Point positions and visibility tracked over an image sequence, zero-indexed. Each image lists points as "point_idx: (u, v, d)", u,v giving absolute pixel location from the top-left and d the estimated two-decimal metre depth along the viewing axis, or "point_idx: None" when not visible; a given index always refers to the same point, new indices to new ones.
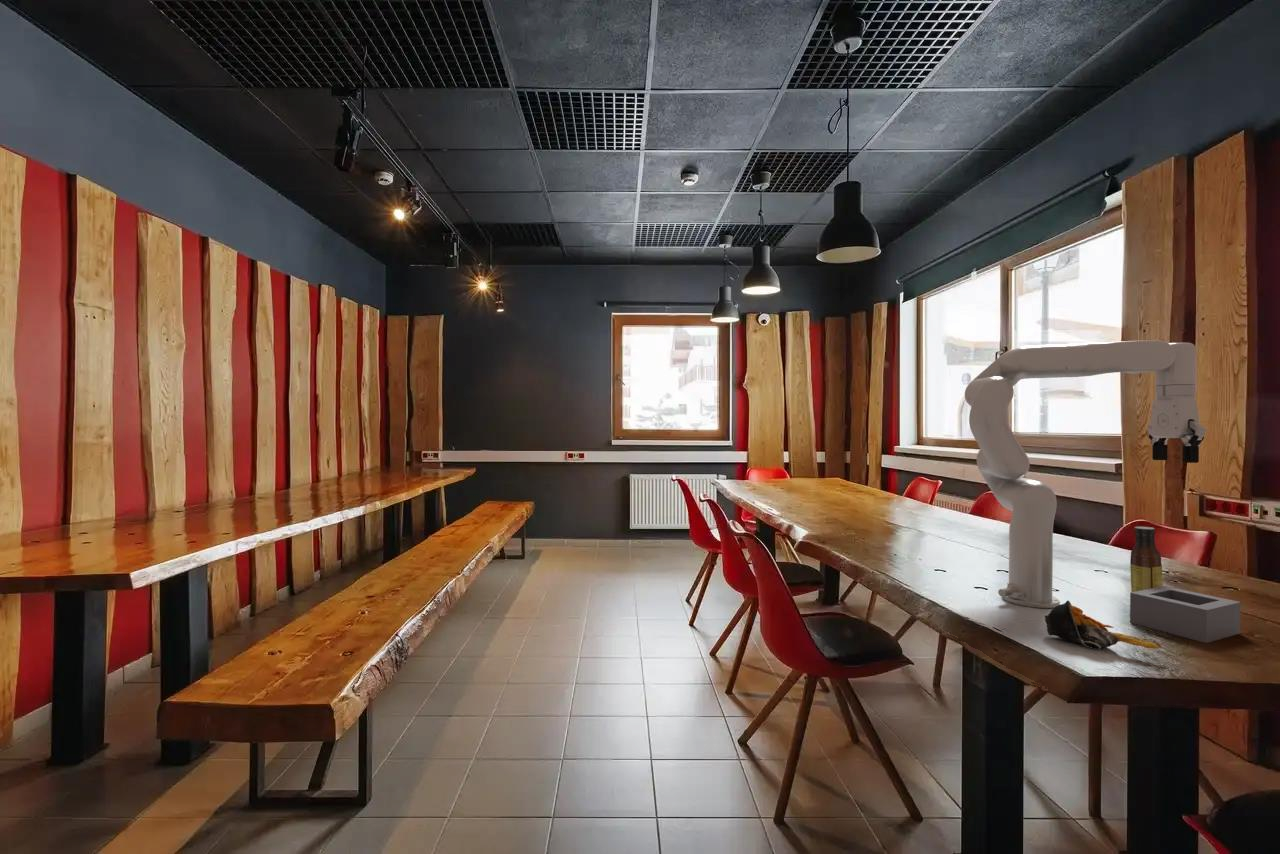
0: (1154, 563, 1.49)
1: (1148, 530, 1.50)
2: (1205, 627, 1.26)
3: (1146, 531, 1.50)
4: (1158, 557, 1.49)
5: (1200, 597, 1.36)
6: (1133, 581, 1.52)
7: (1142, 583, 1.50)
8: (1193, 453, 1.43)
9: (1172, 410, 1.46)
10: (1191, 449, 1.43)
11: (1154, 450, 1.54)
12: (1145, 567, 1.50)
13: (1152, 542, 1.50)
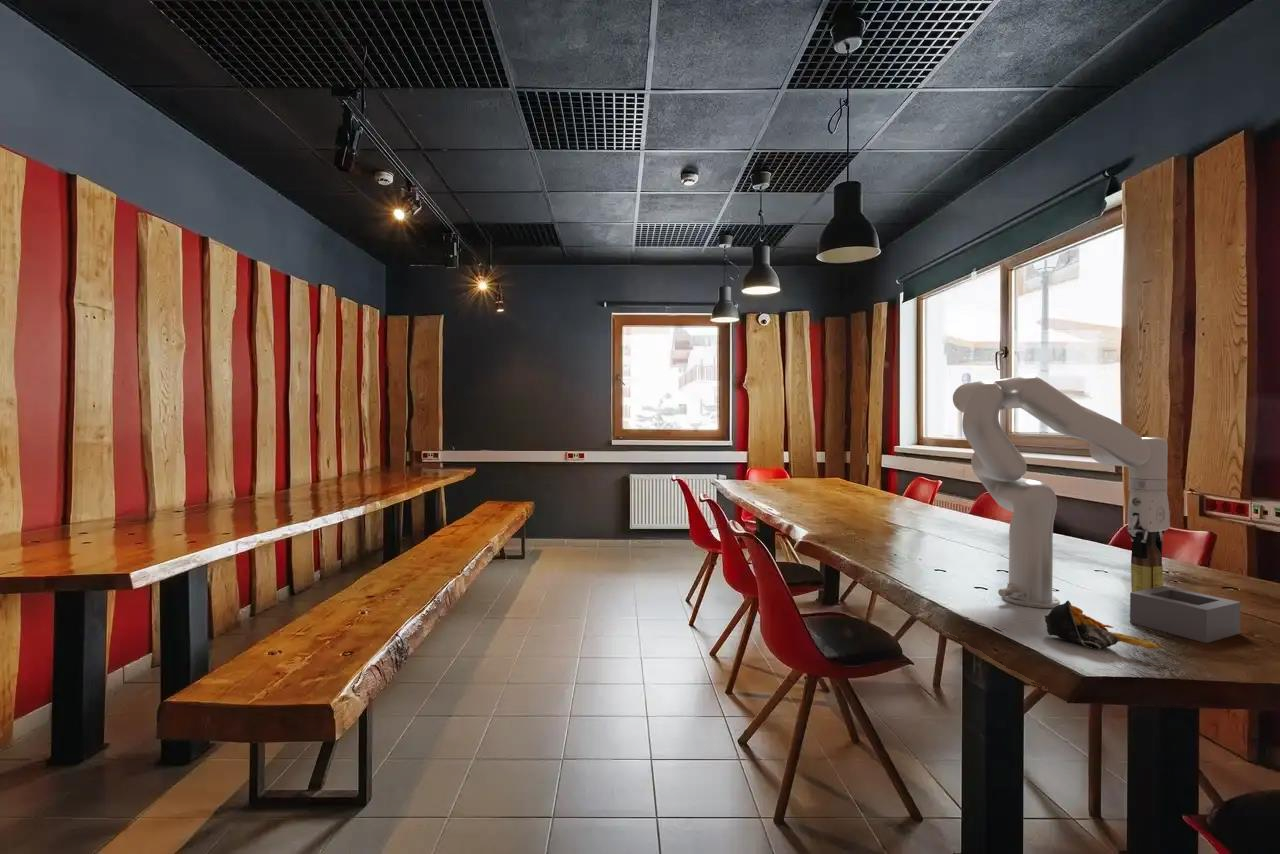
0: (1155, 563, 1.49)
1: None
2: (1205, 627, 1.26)
3: None
4: (1159, 557, 1.49)
5: (1200, 597, 1.36)
6: (1133, 581, 1.52)
7: (1142, 582, 1.50)
8: None
9: (1166, 503, 1.50)
10: None
11: None
12: (1146, 566, 1.50)
13: (1153, 542, 1.50)
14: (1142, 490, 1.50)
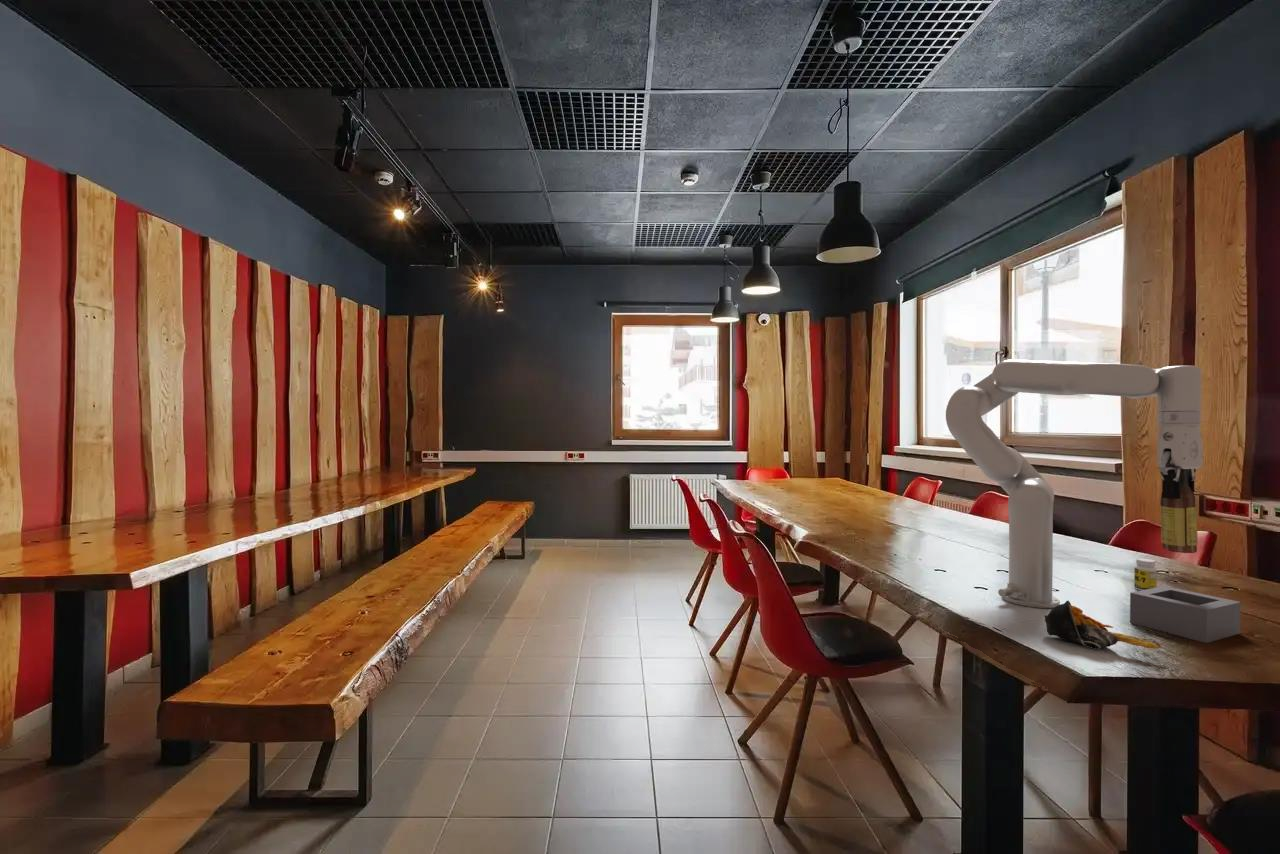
0: (1188, 503, 1.35)
1: None
2: (1205, 627, 1.26)
3: None
4: (1192, 497, 1.35)
5: (1200, 597, 1.36)
6: (1164, 525, 1.38)
7: (1174, 526, 1.36)
8: None
9: (1199, 438, 1.37)
10: None
11: None
12: (1179, 508, 1.36)
13: (1186, 481, 1.36)
14: (1174, 423, 1.36)
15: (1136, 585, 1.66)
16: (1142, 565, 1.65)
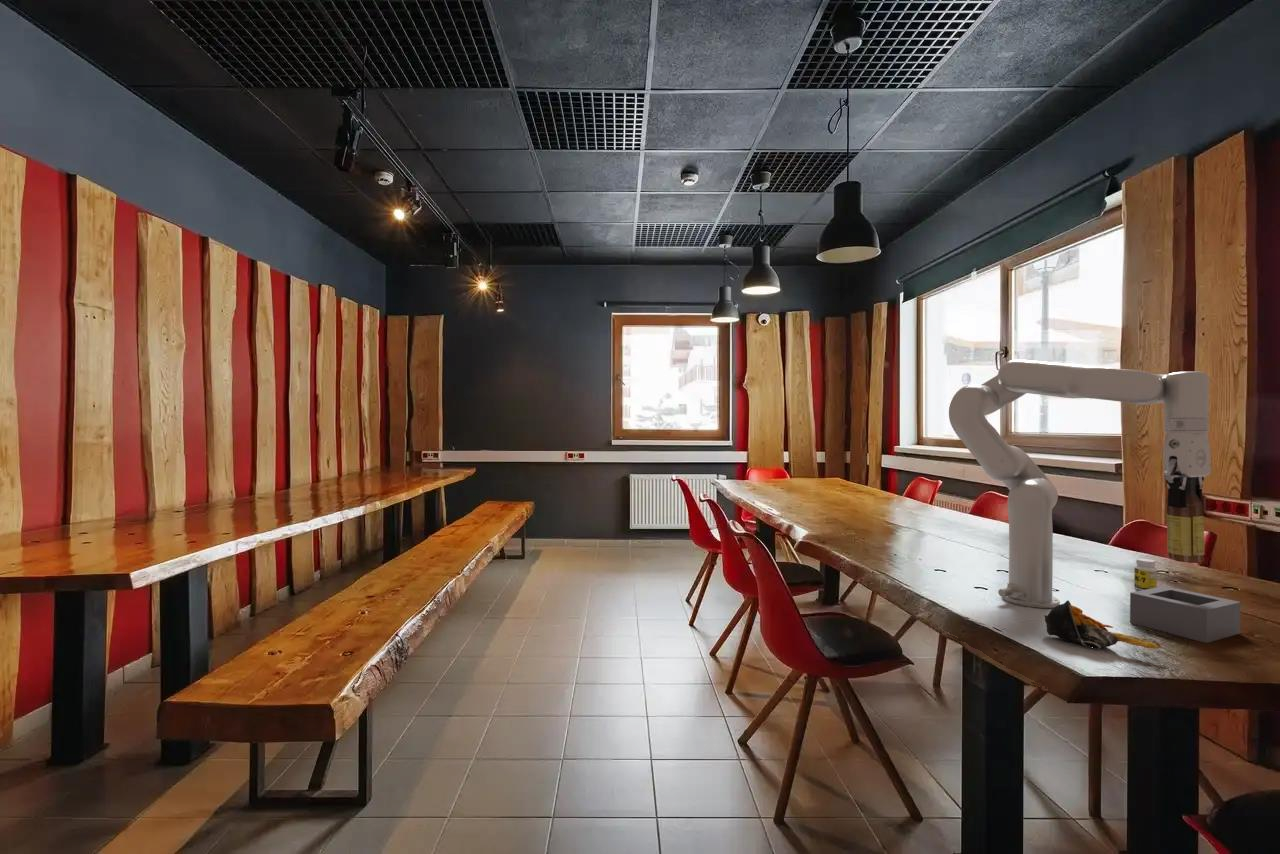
0: (1195, 512, 1.32)
1: None
2: (1205, 627, 1.26)
3: None
4: (1199, 505, 1.32)
5: (1200, 597, 1.36)
6: (1170, 534, 1.36)
7: (1180, 535, 1.33)
8: None
9: (1207, 446, 1.34)
10: None
11: None
12: (1185, 517, 1.33)
13: (1192, 489, 1.33)
14: (1180, 430, 1.33)
15: (1136, 585, 1.66)
16: (1142, 565, 1.65)
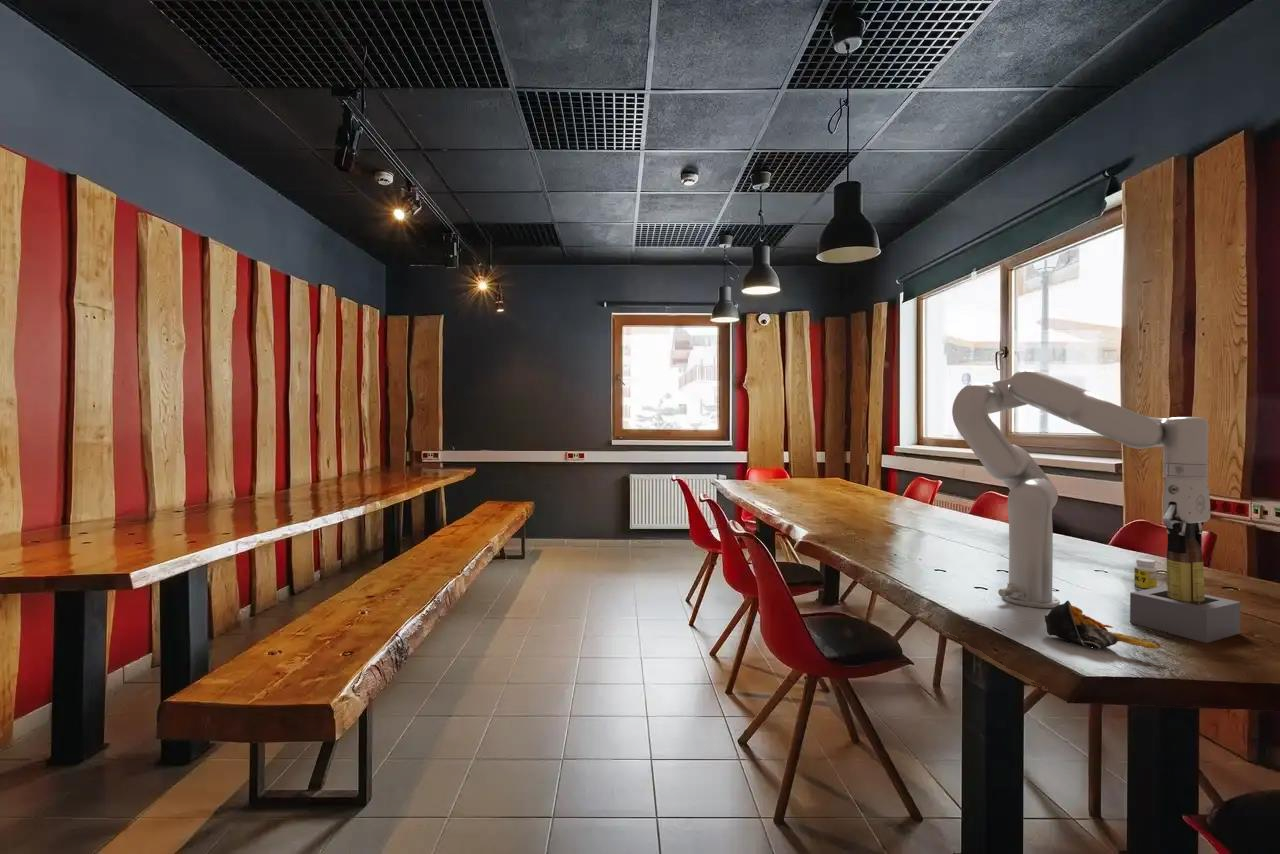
0: (1195, 558, 1.32)
1: None
2: (1205, 627, 1.26)
3: None
4: (1199, 551, 1.32)
5: None
6: (1170, 579, 1.36)
7: (1180, 581, 1.34)
8: None
9: (1206, 491, 1.34)
10: None
11: None
12: (1185, 562, 1.33)
13: (1192, 534, 1.34)
14: (1180, 476, 1.33)
15: (1136, 585, 1.66)
16: (1142, 565, 1.65)
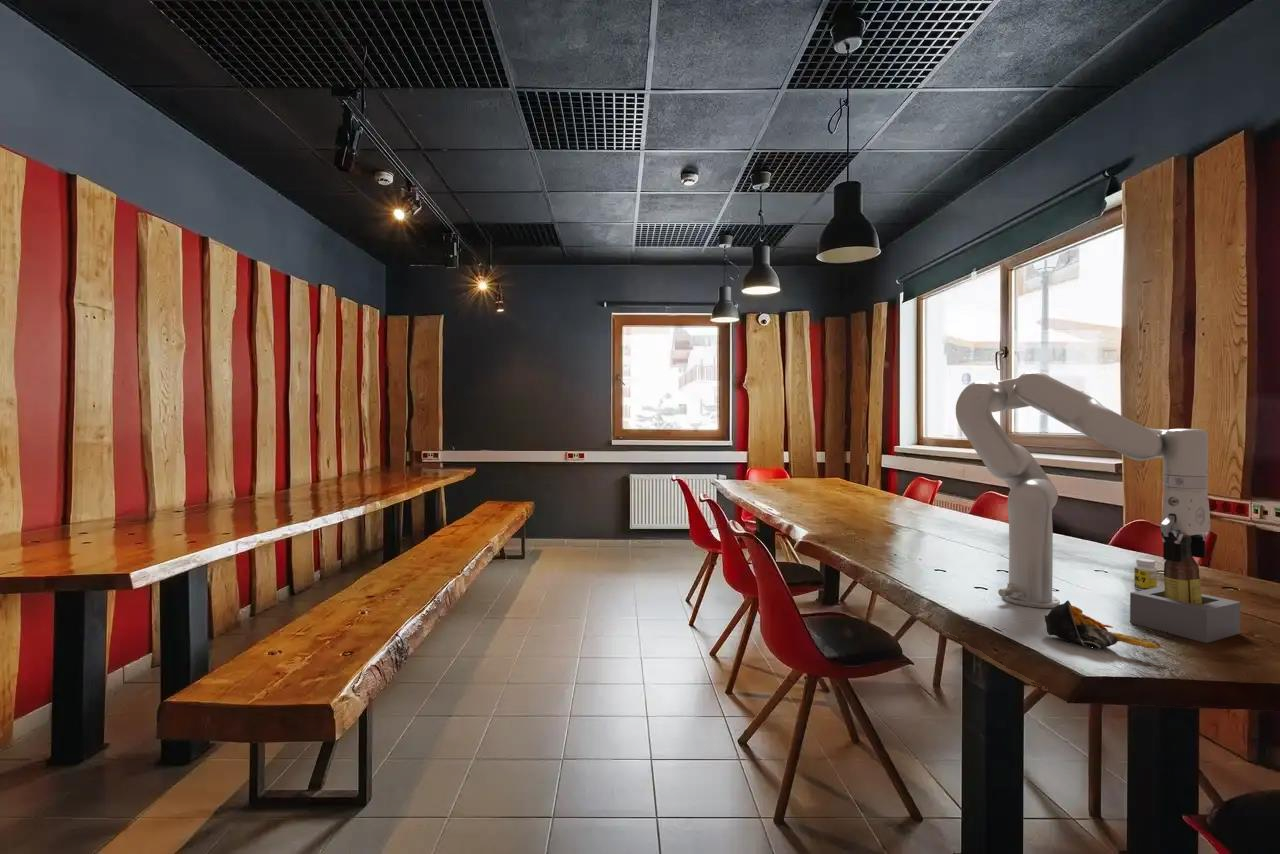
0: (1192, 575, 1.33)
1: (1184, 538, 1.34)
2: (1205, 627, 1.26)
3: (1181, 539, 1.34)
4: (1196, 568, 1.33)
5: None
6: (1168, 596, 1.36)
7: (1178, 598, 1.34)
8: None
9: (1206, 503, 1.34)
10: None
11: None
12: (1182, 579, 1.33)
13: (1188, 552, 1.34)
14: (1179, 488, 1.33)
15: (1136, 585, 1.66)
16: (1142, 565, 1.65)
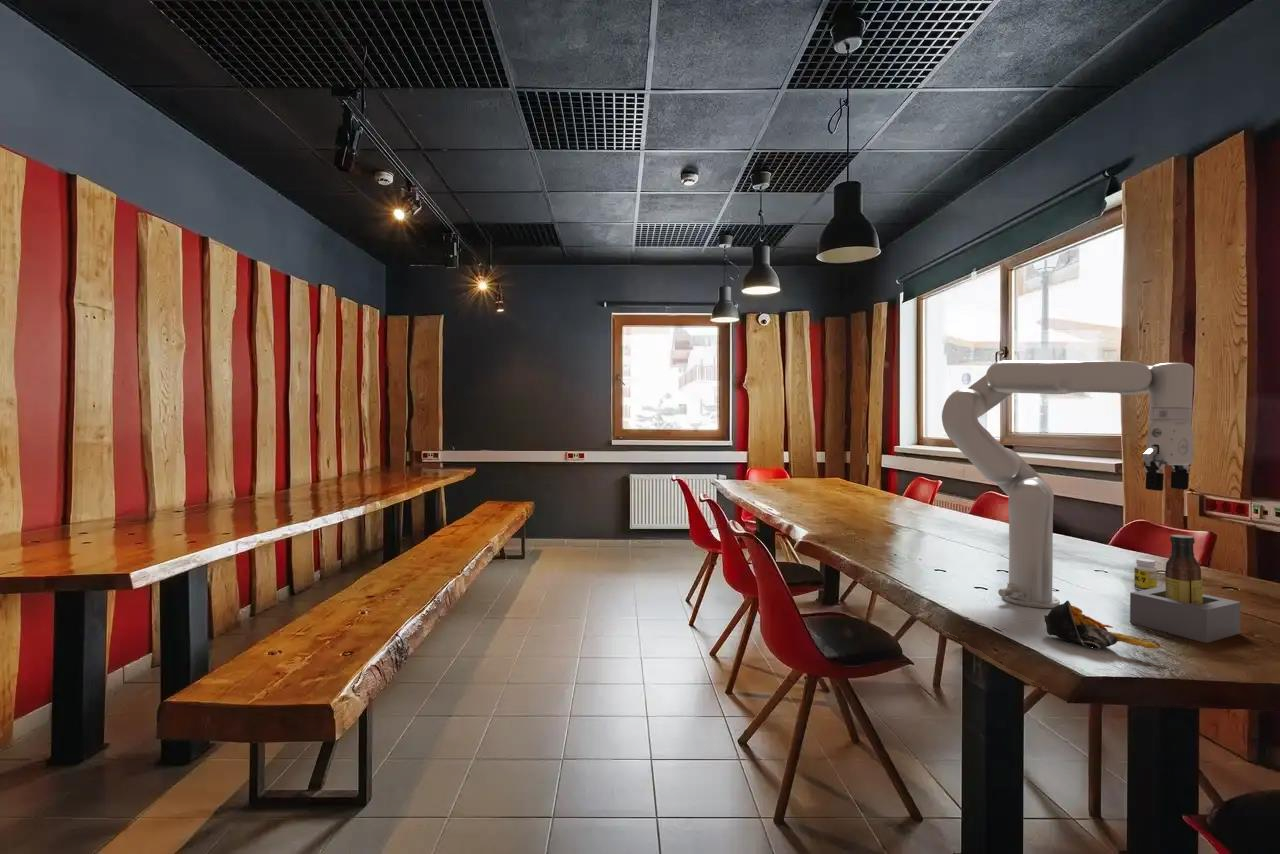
0: (1193, 576, 1.33)
1: (1186, 539, 1.34)
2: (1205, 627, 1.26)
3: (1184, 540, 1.34)
4: (1198, 569, 1.33)
5: None
6: (1169, 596, 1.36)
7: (1179, 598, 1.34)
8: None
9: (1190, 435, 1.38)
10: None
11: None
12: (1183, 580, 1.33)
13: (1191, 552, 1.34)
14: (1163, 420, 1.37)
15: (1136, 585, 1.66)
16: (1142, 565, 1.65)
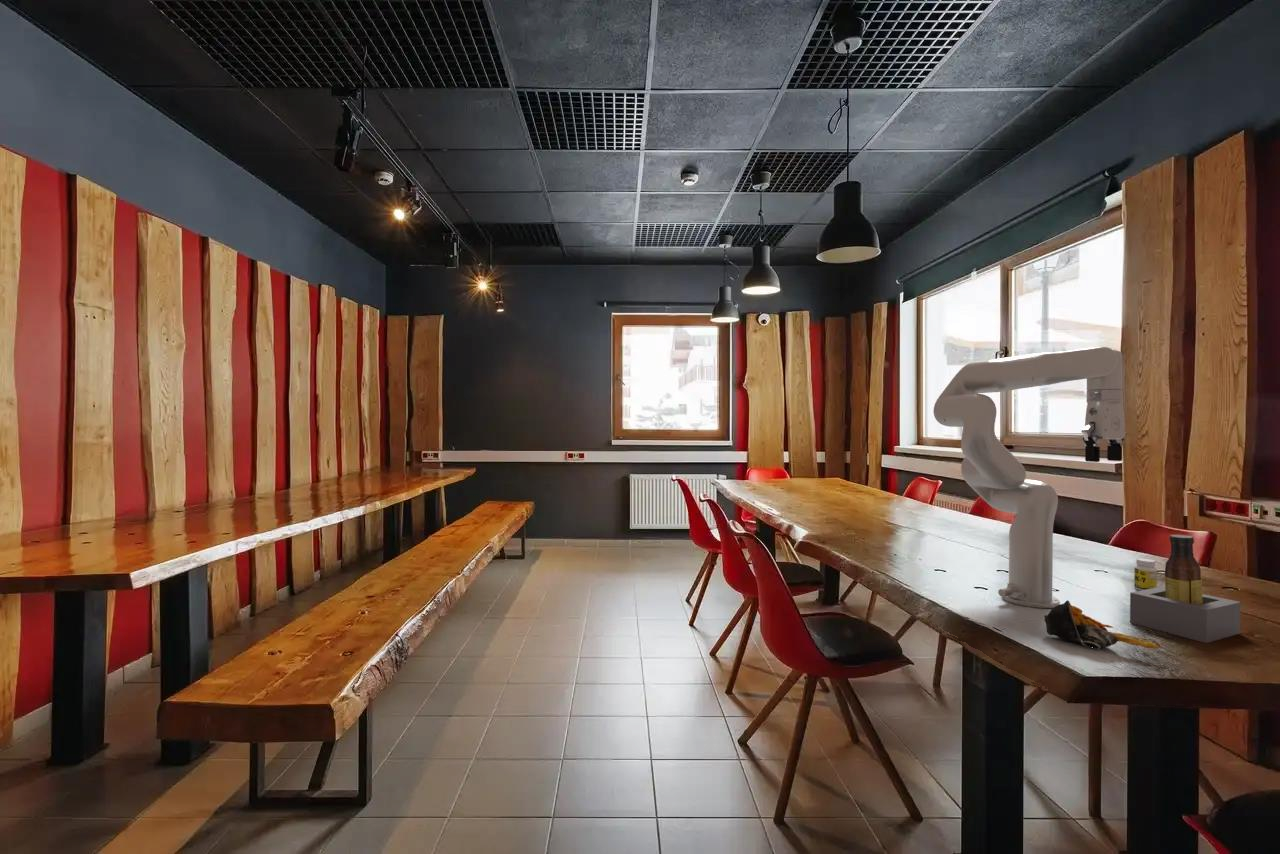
0: (1193, 576, 1.33)
1: (1186, 539, 1.34)
2: (1205, 627, 1.26)
3: (1183, 540, 1.34)
4: (1197, 569, 1.33)
5: None
6: (1168, 596, 1.36)
7: (1179, 598, 1.34)
8: None
9: (1121, 413, 1.58)
10: None
11: None
12: (1183, 580, 1.33)
13: (1190, 552, 1.34)
14: (1098, 400, 1.57)
15: (1136, 585, 1.66)
16: (1142, 565, 1.65)
